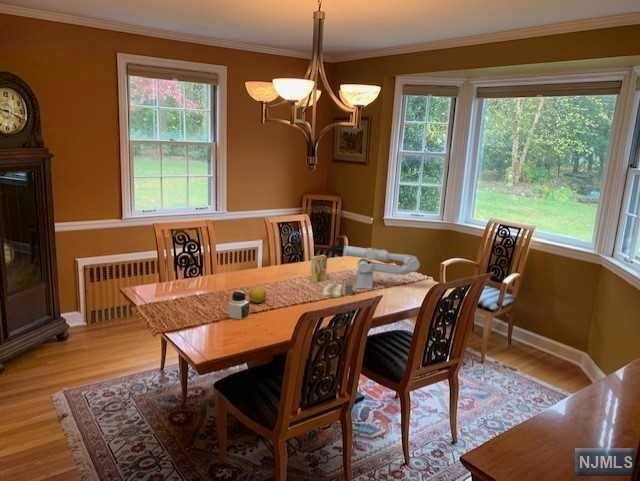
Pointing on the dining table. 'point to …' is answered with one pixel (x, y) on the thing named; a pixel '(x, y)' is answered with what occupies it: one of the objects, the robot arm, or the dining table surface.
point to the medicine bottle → (238, 306)
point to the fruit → (257, 294)
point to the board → (332, 290)
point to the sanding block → (348, 288)
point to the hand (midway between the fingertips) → (330, 248)
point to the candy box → (318, 268)
